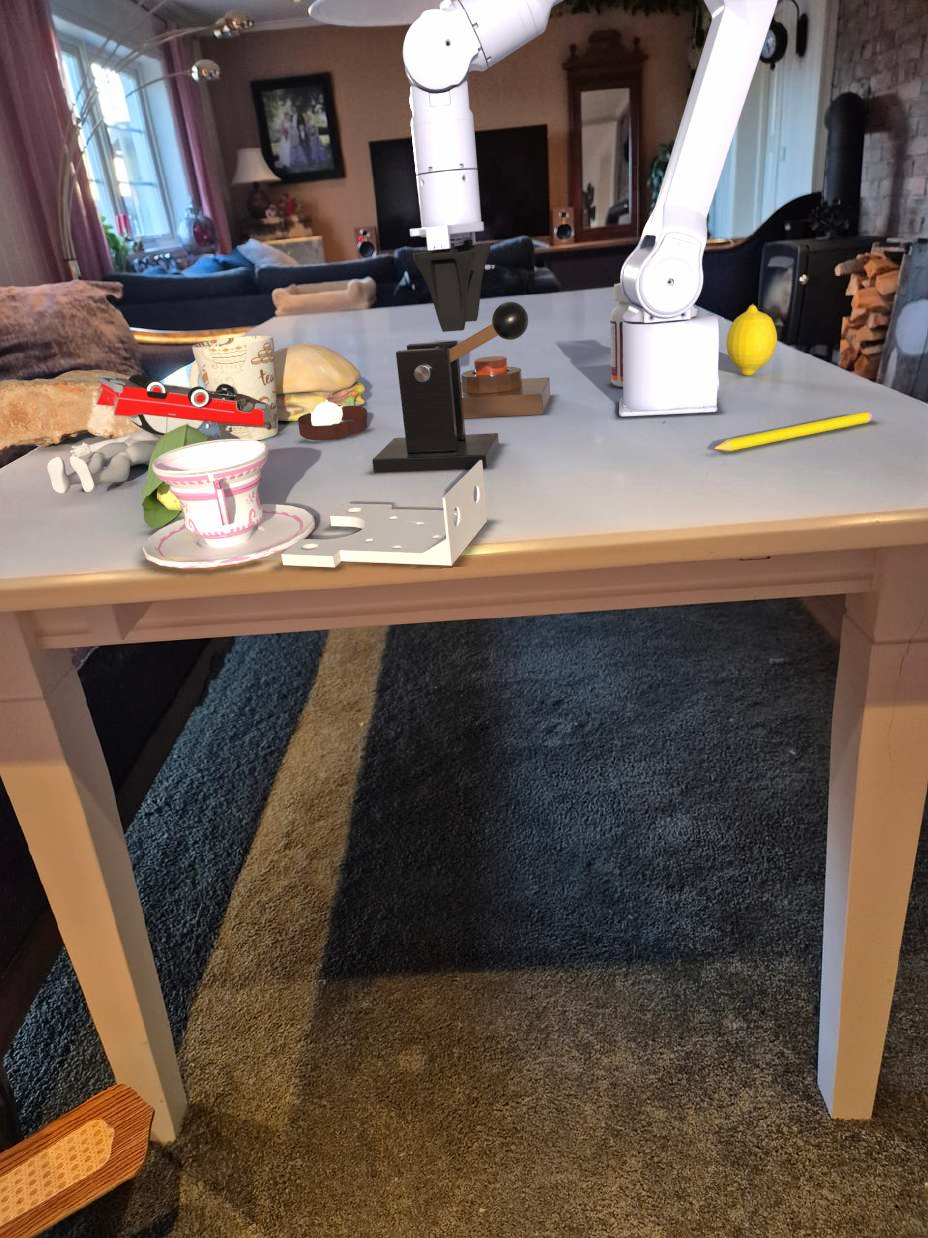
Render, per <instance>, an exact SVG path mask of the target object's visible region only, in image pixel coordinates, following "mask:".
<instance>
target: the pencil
mask: <svg viewBox="0 0 928 1238" xmlns="http://www.w3.org/2000/svg"><path fill="white" fill-rule="evenodd" d="M872 418H873V415H872V413H871V412H870V411H867V410H866V411H861V412H857V413H852V414H847V415H842V416H836V417H832V418H827V419H822V420H817V421H812V422H807V423H802V424H798V425H797V424H796V425H791V426H787V427H783V428H778V429H773V430H768V431H763V432H757V433H753V434H748V435H743V436H739V437H733V438H727V439H726V440H724V441H722V442H721V443H720V444H718V445H717V446H714V447H713V449H714V450H718V451H722V452H723V451H724V452H727V453H728V452H729V453H730V452H733V451H737V450H743V449H749V448H751V447H757V446H762V445H767V444H771V443H776V442H780V441H781V442H782V441H786V440H790V439H791V440H792V439H794V438H800V437H804V436H809V435H815V434H819V433H825V432H828V431H833V430H838V429H843V428H848V427H853V426H857V425H863V424H867V423H868V424H869V423H870V422H871V421H872V420H873V419H872Z"/></svg>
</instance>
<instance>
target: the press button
mask: <svg viewBox="0 0 928 1238" xmlns="http://www.w3.org/2000/svg"><path fill="white" fill-rule="evenodd" d="M507 358H508V357H506V356H503V355H494V356H491V355H490V356H484V357H478V358H475V359H474V360H473V365H474V366H473V367H474V369H475V375H493V374H500V373H505V372H507V367H508V359H507Z"/></svg>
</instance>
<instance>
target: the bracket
mask: <svg viewBox="0 0 928 1238" xmlns="http://www.w3.org/2000/svg"><path fill="white" fill-rule="evenodd" d="M475 488H476V500H475ZM441 500H442V507H443V509H406V508H405V509H401V508H400V509H399V508H393V506H392V504H390V503H389V504H388V503H386V504H385V503H344V504H343V505H342V506H341V507H339V508H338V509H337V510H335V511H334V512H333V513H331V514H330V515H329V518H330V519H329V520H330V526H331V527H353V528H358V529H360V530H359V531H357V532H355V533H352V534H348V535H345V536H341V537H336V538H327V539H326V538H325V539H317V538H316V539H314V538H313V539H312V538H305V539H300V540H299V541H297V542H296V543H295V544H294V545H292V546H291V547H289V548H287V549H285V551H283V552H282V553H281V555H280V556H281V561H282V565H283V566H296V567H297V566H298V567H315V568H316V567H317V568H318V567H320V568H321V567H322V568H336V567H337V566H338V565H339V564H340V563H341V562H350V563H351V562H353V563H354V562H355V563H376V564H377V563H378V564H381V563H382V564H402V565H403V564H404V565H427V566H453V565H454V564H455V562H456V561H457V559H459V557H460V556H461V554H463V552H464V551H465V549H466V548H467V547H468V546H469V545H470V543H471V542H472V541H473V540H474V538H475V537H476V536H477V535H478V533H479V532H480V531H481V529H482V528H483V527H484V526H485V524H486V523H488V521H487V520H488V519H487V518H488V517H487V507H486V491H485V480H484V468H483V465H482V460H479V461H478V462H477V464H476V465H475V466H474V467H473V468H472V469H469V470H468V472H466V473H465V474H464V476H463V477H462V478H460V479H459V481H457V483H455V485H453V486H452V487H451V488H450V489H449V490H448V492H446V493H445V495H443V497H442V499H441ZM455 509H456V510H455Z"/></svg>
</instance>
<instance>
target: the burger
mask: <svg viewBox="0 0 928 1238" xmlns="http://www.w3.org/2000/svg"><path fill="white" fill-rule="evenodd" d="M274 355H275V375H276V395H277V415H278V422H281V421H283V422H298V418H299V417H300V416H302V415H305V414H308V413H310V412H313V410H314V409H315V408H316V407H317V406H318V405H319V404H320V403H322V402H325V400H326V399H327V400H328V401H329V402H333V403H335V404H336V405H338V406H339V407H341V406H361V405H364V404H365V402H366V401H365V399H363V398H362V395H363V394H364V393H365V391H366V390H365V388H366V387H365V385H364V384H363V383H362V382H360V381H359V379H360V378H361V372H360V370H359V369H357V368H356V366H354V364H353V363H352V362H351V361H350V360H348V359H347V358H346V357H345V356H343V355H341V354H340V353H338V352H337V351H335V350H333V349H331V348H330V347H327V346H324V345H321V344H315V343H301V344H293V345H291V346H285V347H282V348H279V349H277V350H274Z"/></svg>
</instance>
